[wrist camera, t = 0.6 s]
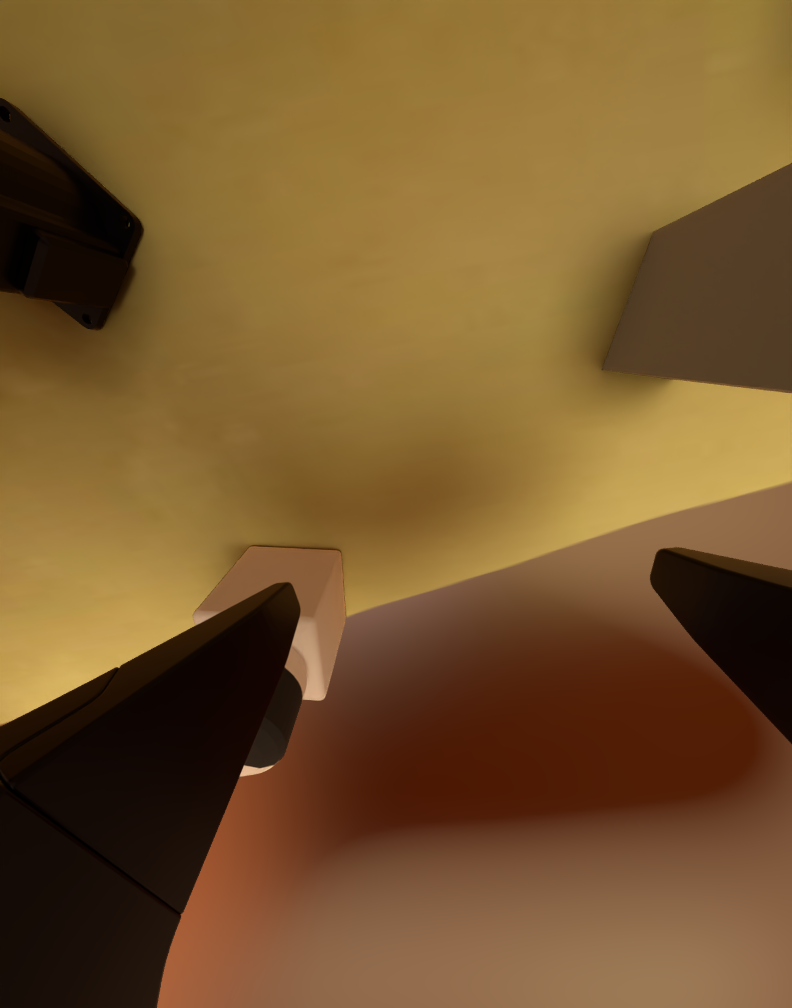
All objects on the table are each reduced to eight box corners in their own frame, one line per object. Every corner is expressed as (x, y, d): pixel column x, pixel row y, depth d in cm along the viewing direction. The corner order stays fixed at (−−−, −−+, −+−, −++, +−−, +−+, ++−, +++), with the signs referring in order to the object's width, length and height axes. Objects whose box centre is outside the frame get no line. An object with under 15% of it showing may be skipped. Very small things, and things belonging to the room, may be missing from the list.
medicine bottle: (248, 544, 24) (113, 701, 13) (342, 548, 24) (280, 714, 13) (264, 614, 27) (164, 788, 16) (347, 619, 27) (300, 799, 16)
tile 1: (601, 369, 18) (795, 391, 9) (653, 231, 15) (1013, 52, 6) (679, 380, 18) (953, 412, 9) (744, 244, 15) (1244, 83, 6)
